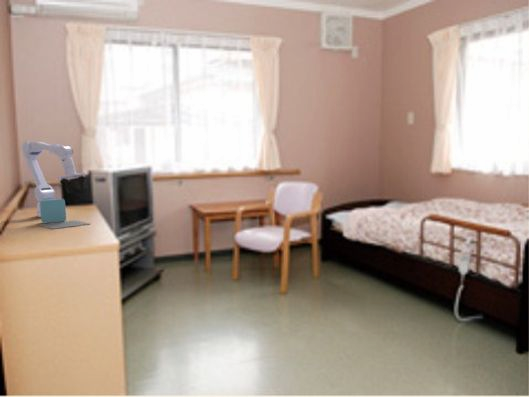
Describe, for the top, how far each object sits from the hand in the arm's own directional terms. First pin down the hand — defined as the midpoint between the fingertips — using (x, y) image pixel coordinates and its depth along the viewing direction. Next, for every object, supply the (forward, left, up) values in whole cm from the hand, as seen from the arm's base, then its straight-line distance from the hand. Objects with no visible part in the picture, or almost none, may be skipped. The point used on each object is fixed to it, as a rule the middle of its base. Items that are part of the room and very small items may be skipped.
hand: (75, 191), depth 257 cm
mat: (+12, -13, -16) cm, 24 cm away
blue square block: (+1, -13, -16) cm, 20 cm away
